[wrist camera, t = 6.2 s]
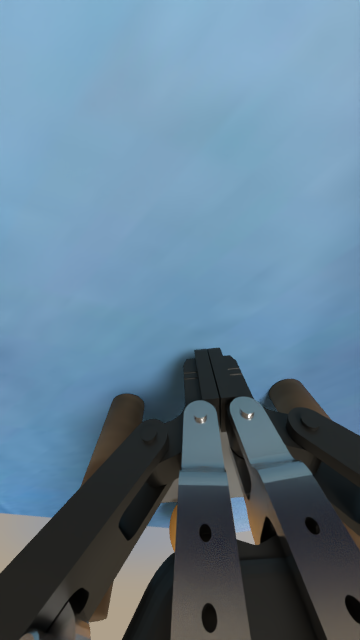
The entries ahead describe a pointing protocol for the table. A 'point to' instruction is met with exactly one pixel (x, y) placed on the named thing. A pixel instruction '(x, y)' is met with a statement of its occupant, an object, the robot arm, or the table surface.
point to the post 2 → (296, 395)
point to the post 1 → (115, 430)
